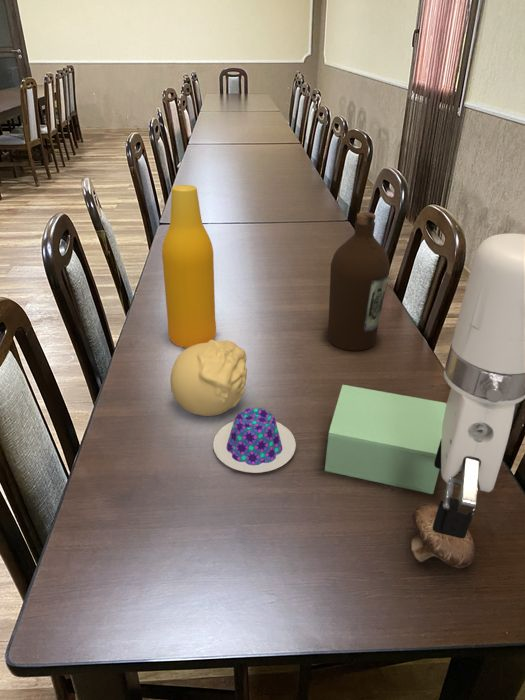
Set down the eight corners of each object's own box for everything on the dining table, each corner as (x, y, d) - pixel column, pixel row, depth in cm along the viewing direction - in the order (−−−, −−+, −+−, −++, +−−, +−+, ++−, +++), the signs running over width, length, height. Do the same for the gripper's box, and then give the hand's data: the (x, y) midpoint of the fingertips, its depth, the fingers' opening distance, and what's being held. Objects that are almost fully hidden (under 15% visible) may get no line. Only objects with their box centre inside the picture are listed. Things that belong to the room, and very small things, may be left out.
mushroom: (394, 551, 59) (432, 511, 58) (392, 519, 67) (425, 484, 66) (452, 599, 59) (492, 560, 57) (444, 561, 66) (479, 526, 65)
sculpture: (234, 431, 81) (234, 372, 76) (161, 417, 84) (155, 359, 78) (255, 389, 91) (256, 334, 85) (188, 378, 93) (185, 323, 88)
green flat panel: (445, 406, 77) (446, 402, 77) (445, 459, 68) (446, 455, 67) (342, 387, 81) (342, 384, 80) (328, 435, 71) (328, 432, 71)
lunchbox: (434, 439, 81) (442, 406, 77) (433, 494, 71) (442, 459, 68) (338, 420, 84) (342, 388, 81) (324, 471, 74) (328, 436, 71)
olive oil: (314, 342, 105) (325, 216, 92) (338, 321, 112) (351, 202, 99) (365, 359, 100) (383, 228, 87) (386, 335, 107) (406, 212, 94)
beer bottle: (220, 327, 109) (216, 182, 94) (210, 351, 101) (204, 196, 86) (175, 324, 110) (165, 179, 95) (162, 347, 102) (149, 193, 87)
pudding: (288, 482, 72) (290, 453, 70) (202, 469, 74) (201, 439, 72) (300, 427, 82) (302, 399, 80) (225, 416, 84) (224, 389, 82)
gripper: (546, 435, 42) (489, 573, 51) (520, 332, 56) (479, 455, 65) (447, 415, 44) (408, 553, 53) (446, 320, 58) (416, 441, 67)
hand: (447, 498), depth 59 cm, fingers open, 9 cm apart
